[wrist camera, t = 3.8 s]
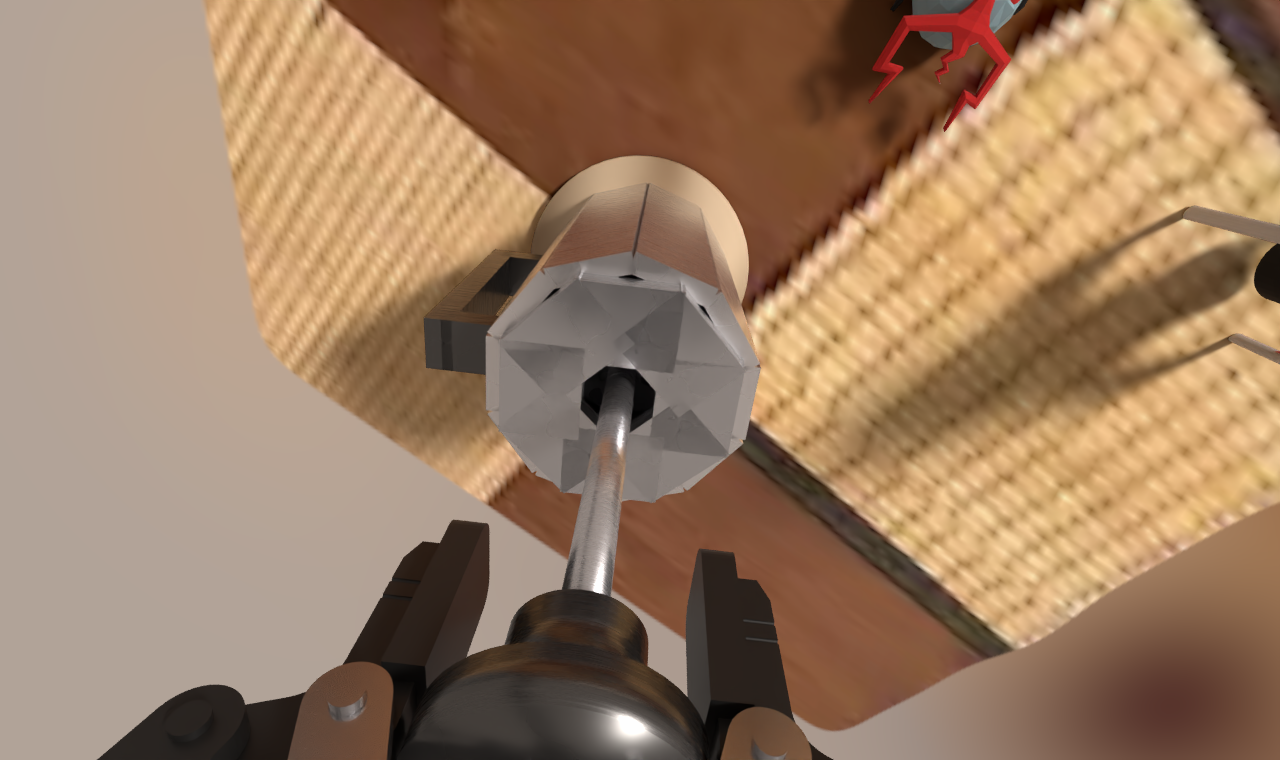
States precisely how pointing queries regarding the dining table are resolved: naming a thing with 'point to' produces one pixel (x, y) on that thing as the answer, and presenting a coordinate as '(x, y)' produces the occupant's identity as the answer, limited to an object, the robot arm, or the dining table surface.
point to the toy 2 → (1274, 273)
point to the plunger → (569, 645)
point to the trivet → (650, 171)
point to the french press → (609, 341)
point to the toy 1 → (952, 38)
